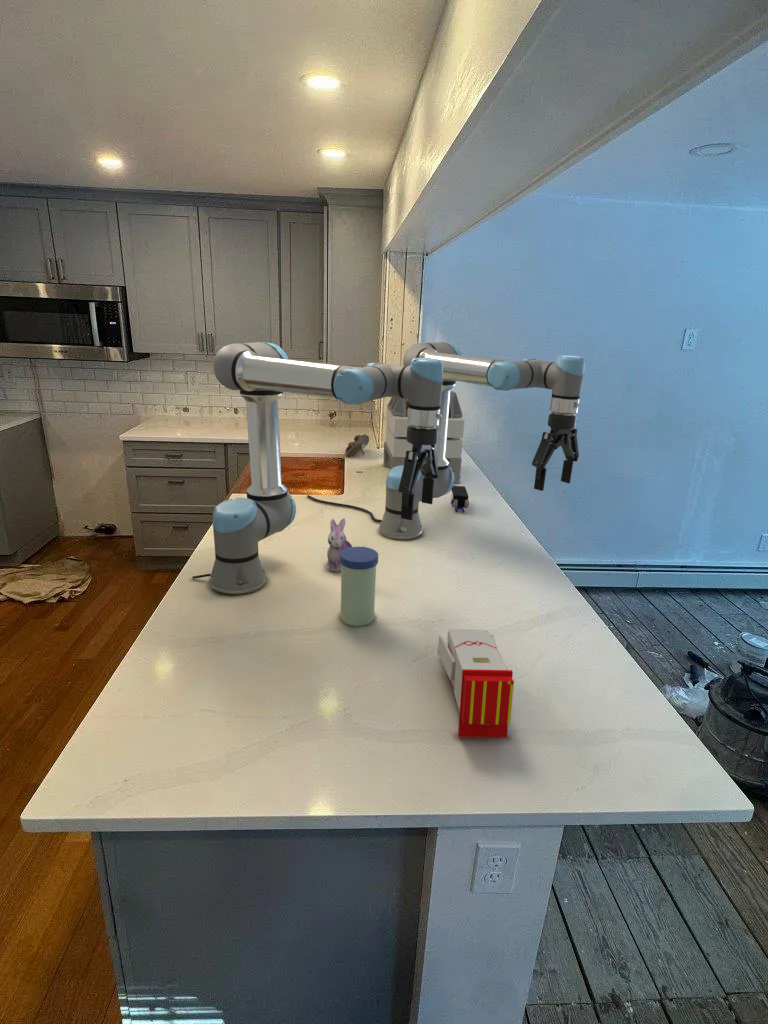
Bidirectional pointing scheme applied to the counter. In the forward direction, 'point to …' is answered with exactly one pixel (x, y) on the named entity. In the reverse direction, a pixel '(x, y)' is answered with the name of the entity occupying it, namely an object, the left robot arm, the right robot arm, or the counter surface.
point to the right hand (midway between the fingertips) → (552, 485)
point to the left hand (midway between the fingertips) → (417, 510)
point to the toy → (478, 682)
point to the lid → (359, 558)
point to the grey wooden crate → (399, 445)
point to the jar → (357, 595)
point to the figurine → (336, 545)
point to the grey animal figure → (357, 445)
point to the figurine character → (459, 498)
